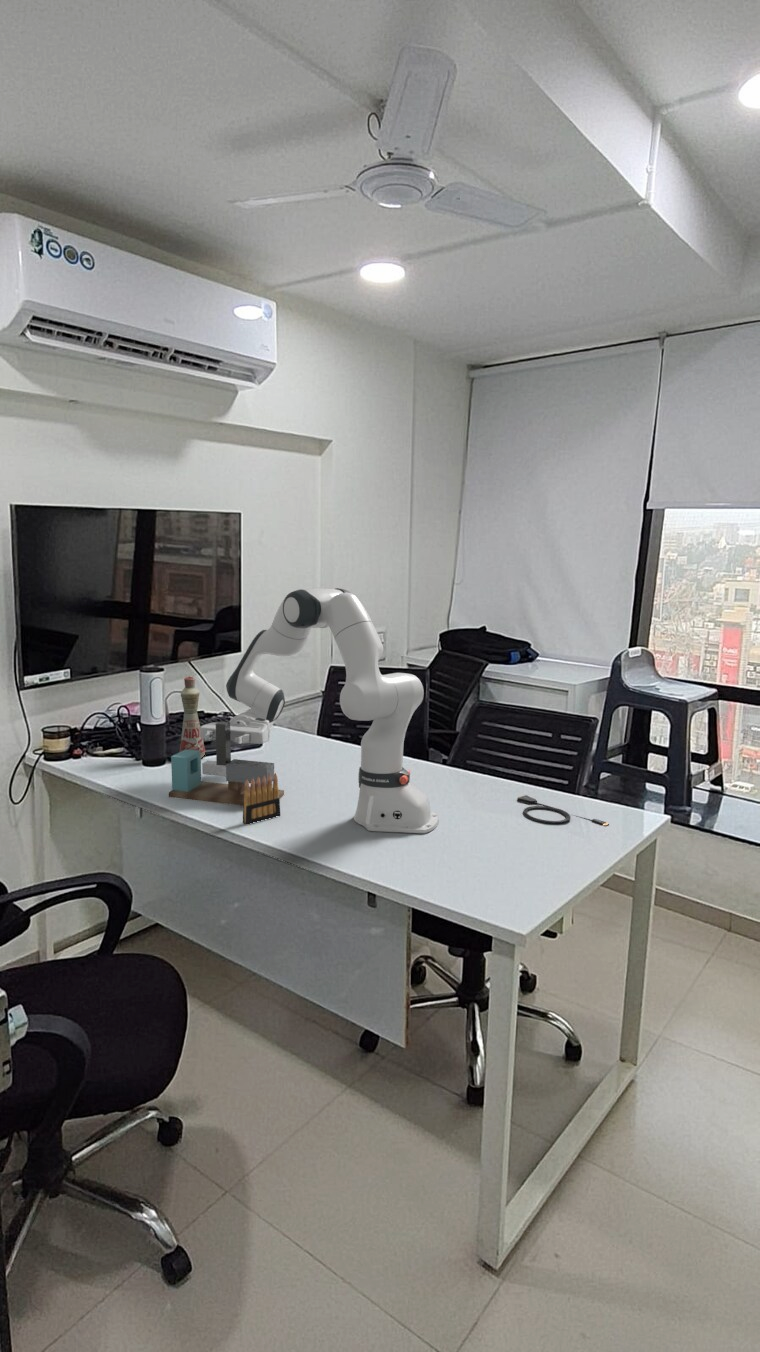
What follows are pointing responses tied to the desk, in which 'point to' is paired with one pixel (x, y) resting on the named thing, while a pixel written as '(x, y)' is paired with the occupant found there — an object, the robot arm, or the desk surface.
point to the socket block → (186, 770)
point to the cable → (530, 800)
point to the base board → (217, 793)
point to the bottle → (191, 718)
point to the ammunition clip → (261, 800)
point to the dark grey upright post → (220, 751)
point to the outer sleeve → (248, 771)
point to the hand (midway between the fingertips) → (221, 739)
